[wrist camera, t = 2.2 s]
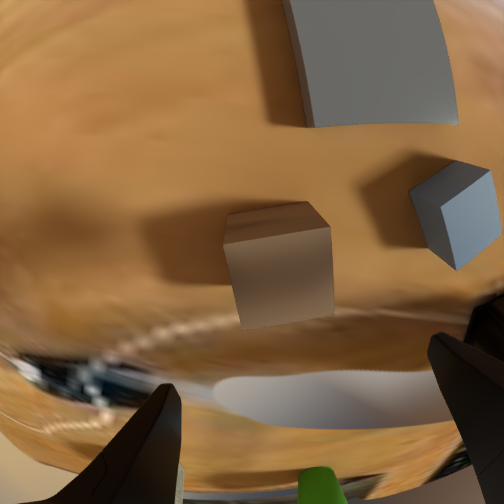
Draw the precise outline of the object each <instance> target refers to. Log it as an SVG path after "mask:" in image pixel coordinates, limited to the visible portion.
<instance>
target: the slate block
mask: <svg viewBox="0 0 504 504" xmlns="http://www.w3.org/2000/svg"><path fill="white" fill-rule="evenodd" d="M408 192H409V194H410V197H411V199H412V202H413V205H414V207H415V210H416V213H417V216H418V219H419V222H420V225H421V228H422V231H423V234H424V237H425V240H426V243H427V246H428V249H430V250H431V251H432V252H433V253H435V254H436V255H437V256H439V257H440V258H441V259H442V260H444V261H445V262H446V263H447V264H448V265H450V266H451V267H452V268H453V269H455V270H456V271H457V270H459V269H460V268H461V267H463V266H464V265H465V264H466V263H468V262H469V261H470V260H472V259H473V258H474V257H475V256H476V255H478V254H479V253H480V252H481V251H483V250H484V249H485V248H486V247H487V246H488V245H490V244H491V243H492V242H493V241H494V240H495V239H497V238H498V237H499V236H500V235H501V234H502V229H501V221H500V215H499V209H498V203H497V197H496V192H495V187H494V183H493V178H492V174H491V170H488V169H485V168H482V167H478V166H475V165H471V164H468V163H464V162H460V161H457V160H456V161H454V162H453V163H451V164H450V165H448V166H447V167H445V168H444V169H442V170H441V171H439V172H438V173H436V174H434V175H433V176H431V177H430V178H428V179H427V180H425V181H424V182H422V183H421V184H419V185H418V186H416V187H415V188H413V189H411V190H410V191H408Z"/></svg>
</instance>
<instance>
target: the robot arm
mask: <svg viewBox="0 0 504 504" xmlns="http://www.w3.org/2000/svg"><path fill="white" fill-rule="evenodd" d="M427 355H428V359H429V361H430V364H431V367H432V369H433V372H434V375H435V377H436V380H437V383H438V385H439V388H440V391H441V393H442V395H443V397H444V399H445V401H446V403H447V405H448V408H449V410H450V412H451V414H452V416H453V419H454V421H455V423H456V425H457V428H458V430H459V432H460V435H461V437H462V439H463V442H464V444H465V447H466V449H467V452H468V454H469V457H470V459H471V462H472V465H473V467H474V470H475V473H476V475H477V479H478V481H479V484H480V487H481V490H482V494H483V497H484V499H485V503H486V504H504V296H503V297H500V298H498V299H496V300H493V301H491V302H488V303H486V304H483V305H481V306H478V307H476V308H475V310H474V311H473V315H472V318H471V322H470V325H469V328H468V331H467V335H466V338H465V341H464V342H462V341H460V340H458V339H456V338H454V337H452V336H450V335H448V334H446V333H444V332H439V333H436V334H433V335H432V337H431V340H430V343H429V347H428V351H427ZM181 406H182V404H181V398H180V396H179V394H178V393H177V391H176V389H175V387H174V385H173V384H171V383H164V384H160V385H159V386H158V387H157V388H156V390H155V391H154V392H153V393H152V394H151V395H150V396H149V398H148V399H147V400H146V401H145V402H144V403H143V405H142V406H141V407H140V408H139V409H138V410H137V411H136V413H135V414H134V415H133V416H132V417H131V418H130V419H129V421H128V422H127V423H126V424H125V425H124V426H123V427H122V429H121V430H120V431H119V432H118V433H117V434H116V435H115V437H114V438H113V439H112V440H111V441H110V442H109V443H108V444H107V446H106V447H105V448H104V449H103V450H102V451H103V452H100V453H99V455H98V456H97V457H96V458H95V459H94V460H93V461H92V462H91V463H90V464H89V465H88V466H87V467H86V468H85V469H84V470H83V471H82V472H81V473H80V474H79V475H78V476H77V477H76V478H74V479H73V480H72V481H71V482H70V483H69V484H68V485H66V486H65V487H64V488H63V489H62V490H60V491H59V492H58V493H57V494H56V495H54V496H52V497H50V498H48V499H46V500H41V501H34V502H28V503H19V504H175V495H176V485H177V475H178V466H179V457H180V449H181Z"/></svg>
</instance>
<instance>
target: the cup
mask: <svg viewBox="0 0 504 504" xmlns="http://www.w3.org/2000/svg"><path fill="white" fill-rule="evenodd" d="M297 504H348V503H347V501H346V498H345V496H344V494H343V492H342V489H341V487H340V485H339V483H338V480H337V478H336V476H335V474H334V471H333V470H332V469H331V468H330V467H316V468H312V469H309V470H306V471H304V472H302V473H301V474H300V477H299V478H298V497H297Z"/></svg>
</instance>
